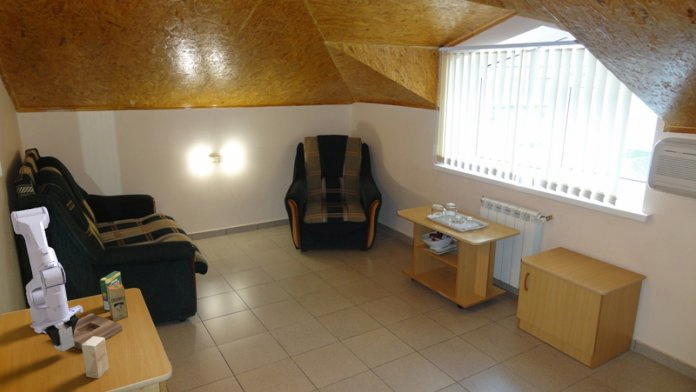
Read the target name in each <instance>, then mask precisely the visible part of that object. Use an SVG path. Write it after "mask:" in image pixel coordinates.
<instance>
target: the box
mask: <svg viewBox="0 0 696 392" xmlns="http://www.w3.org/2000/svg"><path fill="white" fill-rule="evenodd" d="M81 351H82V355H83V363H84V370H85V376H86V377H88V378H93V379H100V378H101V377H102V376H103V375H104V374H105V373H107V371H108V370H110V364H109V358H108V352H107V344H106V340H105V338H103V337H96V336H93V337H91V338H90V339H89V340H87V341H86V342H85V343H84V344H82V350H81Z"/></svg>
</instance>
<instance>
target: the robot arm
mask: <svg viewBox="0 0 696 392" xmlns="http://www.w3.org/2000/svg"><path fill="white" fill-rule="evenodd" d="M10 218H11V219H10V220H11V222H12V226H13V231H14V232H15V234H16V235H22V236H23V238H24V240H25V245H26V246H25V247H26V250H27V255H28V259H29V264H30V268H31V272H32V278H31V280H30V281H29V282H28V283H27V284H26V285H25V290H26V292H25V294H26V299H27V303H28V305H29V312H30V318H31V322H32V324H31V325H29V326H30V328H32V329H34V332H35V333H37V334H41V333H43V334H46V335H47V336H48V337H49V338H50V340H51V342H52V344H53V345H55V346H59V345H60V341H59V329H58V328H56V327H57V326H59V325H61V324H63V323H64V324H67V325H69V326H71V327H72V333H73V337H74V330H75V326H76V324H77V322H78V320H79V316H77V314H79V313H80V314H81V313H84V308H83V306H82V305H79V304H78V305H76V306H72V307H70V308H69V303H68V298H67V292H66V287H65V286H66V285H65V284H66V282H67V279H66V272H65V270H64V267H63V266H62V264H61V262H59V261H58V258H57V255H56V252H55V250H54V248H52V247H50V246H49V245H48V240H47V236H46V231H45V229H47V228H48V227H49V223H50V216H49V212H48V209H47V207H45V206H41V207H34V208H31V209H24V210H19V211H18V210H17V211H12V212H11V214H10ZM55 346H54V347H55Z"/></svg>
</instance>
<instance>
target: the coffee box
mask: <svg viewBox="0 0 696 392" xmlns="http://www.w3.org/2000/svg"><path fill="white" fill-rule="evenodd" d="M122 282H123V281H122V276H121V271H117V270H114V271H112V272H110V273H109V274H107V275H106V276H104V277H102V278H101V279H99V287H100V291H101V296H102V297H101V298H102V303H103V309H104V311H106V312H107V311H108V312H110V306H109V300H108V293H107V286H109V285H113V284H118V283H122ZM122 284H123V283H122Z"/></svg>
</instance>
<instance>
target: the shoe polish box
mask: <svg viewBox="0 0 696 392" xmlns="http://www.w3.org/2000/svg"><path fill="white" fill-rule="evenodd" d="M125 291H126V290H125V287H124V285H123V283H118V284H113V285H109V286H107V293H108V300H109V306H110V311H109V313H110V317H111V318H112V321H114V322H116V321H119V320H123V319H127V318H128V317H129V313H128V305H127V299H126V292H125Z"/></svg>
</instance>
